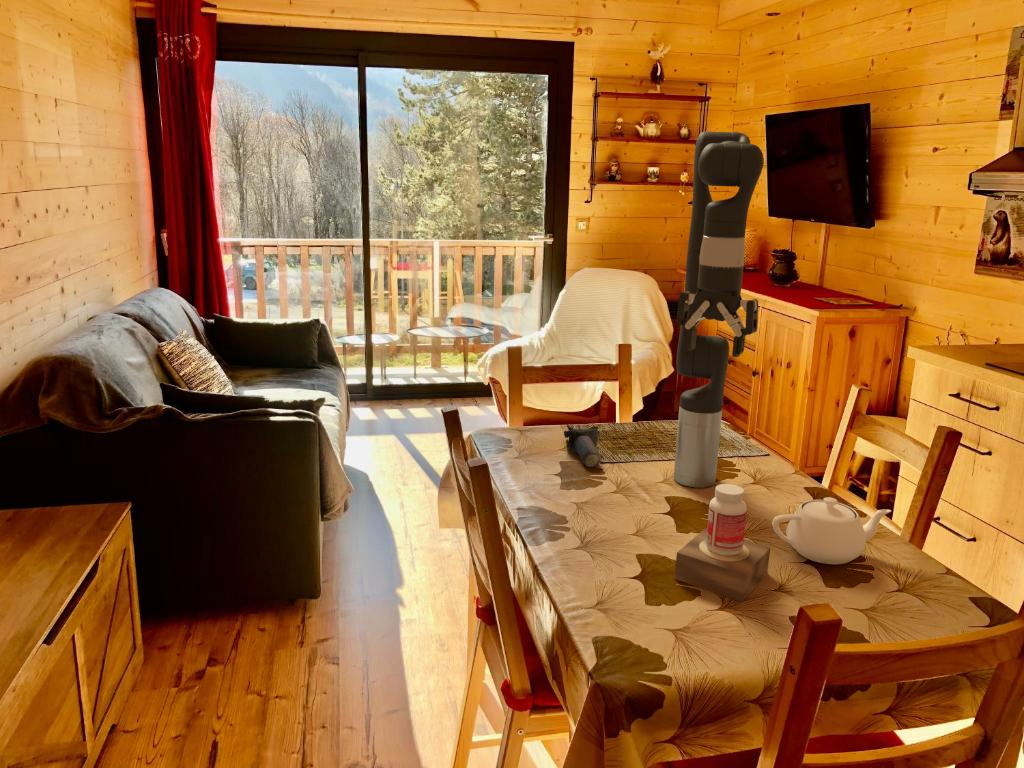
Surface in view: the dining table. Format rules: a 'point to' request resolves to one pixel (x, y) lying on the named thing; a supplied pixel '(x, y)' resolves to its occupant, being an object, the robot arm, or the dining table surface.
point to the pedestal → (722, 567)
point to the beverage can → (584, 444)
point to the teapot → (827, 531)
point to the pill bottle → (726, 520)
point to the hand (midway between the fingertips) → (713, 352)
